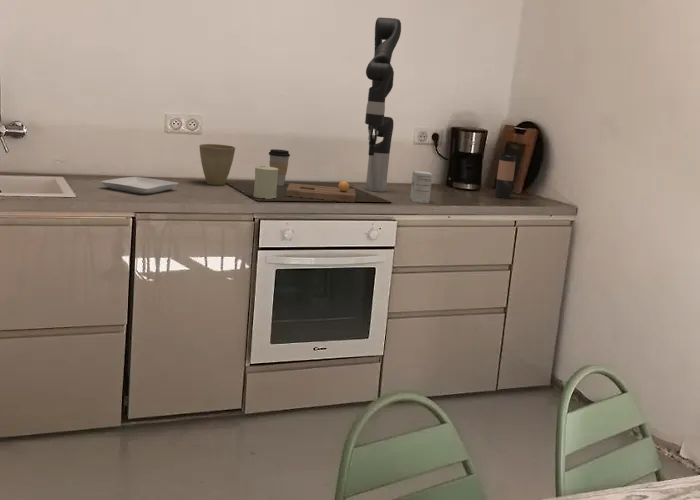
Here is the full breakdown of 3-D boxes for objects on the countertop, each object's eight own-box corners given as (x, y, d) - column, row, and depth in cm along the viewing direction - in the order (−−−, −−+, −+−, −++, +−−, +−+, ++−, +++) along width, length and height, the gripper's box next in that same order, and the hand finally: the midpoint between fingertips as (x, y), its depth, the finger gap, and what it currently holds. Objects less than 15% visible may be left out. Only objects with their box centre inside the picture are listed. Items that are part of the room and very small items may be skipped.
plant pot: (204, 179, 344) (205, 142, 341) (237, 183, 342) (239, 146, 339) (192, 184, 330) (194, 145, 326) (227, 188, 328) (229, 149, 325)
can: (266, 194, 322) (268, 164, 319) (281, 198, 315) (283, 168, 313) (248, 195, 315) (250, 165, 313) (262, 199, 309) (265, 168, 306)
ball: (337, 190, 334) (338, 179, 333) (348, 191, 334) (349, 180, 333) (337, 191, 329) (338, 181, 328) (348, 192, 329) (349, 182, 328)
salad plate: (99, 189, 299) (99, 180, 299) (134, 184, 319) (134, 175, 318) (146, 197, 292) (146, 188, 291) (179, 191, 311) (179, 182, 310)
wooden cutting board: (289, 189, 341) (289, 183, 340) (354, 195, 342) (354, 189, 341) (286, 196, 321) (286, 190, 321) (355, 202, 322) (355, 196, 322)
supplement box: (409, 199, 345) (412, 170, 342) (426, 200, 346) (429, 171, 343) (412, 202, 338) (415, 172, 335) (429, 203, 338) (432, 174, 336)
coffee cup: (284, 187, 345) (287, 152, 342) (263, 184, 347) (265, 150, 344) (290, 184, 354) (292, 150, 351) (270, 182, 356) (272, 148, 353)
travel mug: (511, 197, 380) (517, 155, 375) (509, 199, 372) (515, 157, 368) (495, 195, 382) (501, 153, 377) (493, 197, 375) (498, 155, 370)
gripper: (385, 114, 318) (380, 158, 322) (383, 113, 331) (379, 154, 335) (366, 112, 318) (362, 156, 322) (365, 111, 331) (361, 153, 335)
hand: (371, 155), depth 328 cm, fingers closed
